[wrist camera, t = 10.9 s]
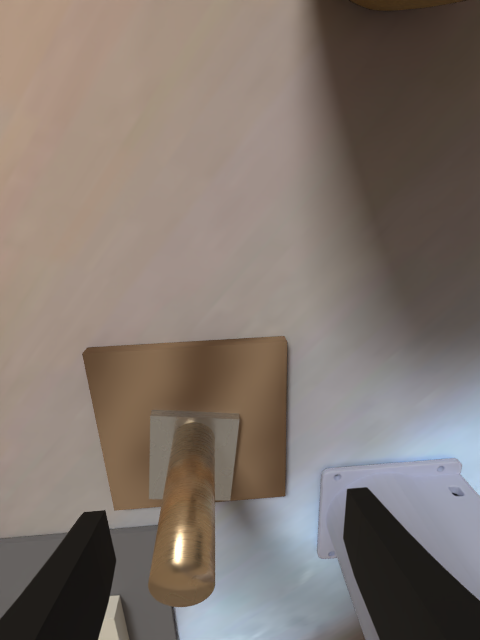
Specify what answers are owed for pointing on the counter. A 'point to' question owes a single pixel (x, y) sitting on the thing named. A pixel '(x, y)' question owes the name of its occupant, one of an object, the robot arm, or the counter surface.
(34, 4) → the counter surface
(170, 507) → the stamp with brass handle
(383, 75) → the counter surface
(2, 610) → the mat
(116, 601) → the tile
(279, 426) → the board
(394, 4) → the plant pot
